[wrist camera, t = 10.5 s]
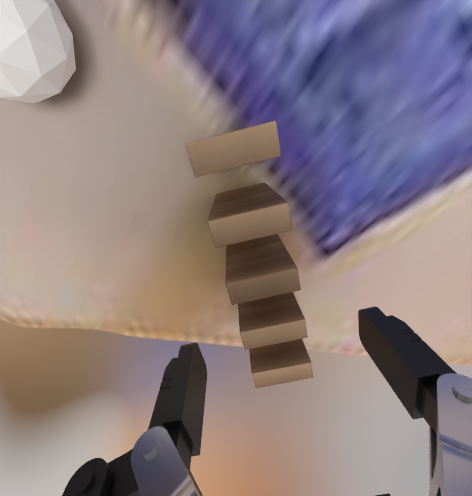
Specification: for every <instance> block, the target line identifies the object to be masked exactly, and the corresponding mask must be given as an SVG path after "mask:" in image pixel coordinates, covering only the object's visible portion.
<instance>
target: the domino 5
mask: <svg viewBox="0 0 472 496" xmlns="http://www.w3.org/2000/svg"><path fill="white" fill-rule="evenodd" d="M249 351H250V362H251V371H252V376H253V380H254V383H255V387H256V388H259V387H265V386H271V385H276V384H281V383H287V382H292V381H297V380H303V379H308V378H313V372H312V364H311V361H310V358H309V356H308V353H307V350H306V348H305V345H304V343H303V340H302V339H298V340H292V341H287V342H282V343H277V344H272V345H267V346H262V347H257V348H252V349H249Z"/></svg>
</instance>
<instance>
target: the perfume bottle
mask: <svg viewBox="0 0 472 496" xmlns="http://www.w3.org/2000/svg"><path fill="white" fill-rule="evenodd" d="M75 70H76V66H75V55H74V45H73V35H72V32H71V31H70V29H69V27H68V25H67V23H66V21H65V19H64V18H63V16H62V14H61V12H60V10H59V8H58V6H57V4H56V3H55V1H54V0H0V98H4V99H10V100H17V101H23V102H29V103H37V102H40V101H42V100H44V99H47V98H49V97H51V96H54V95H56V94H58V93H60V92H61V91H62V89H63V88H64V86H65V85H66V83H67V82H68V81H69V79H70V78H71V76H72V75H73V73H74V72H75Z"/></svg>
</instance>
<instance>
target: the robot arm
mask: <svg viewBox="0 0 472 496" xmlns="http://www.w3.org/2000/svg"><path fill="white" fill-rule="evenodd" d="M358 315H359V336H360V340H361V342H362V345H363V346H364V348H365V350H366V351H367V352H368V354H369V355H370V357H371V358H372V360H373V361H374V363H375V364H376V366H377V367H378V369H379V370H380V372H381V373H382V374H383V376H384V377H385V379H386V380H387V382H388V383H389V385H390V386H391V388H392V389H393V391H394V392H395V393H396V395H397V396H398V398H399V399H400V401H401V402H402V404H403V405H404V407H405V408H406V410H407V411H408V413H409V414H410V416H411V417H412V418H413V419H418V418H424V419H425V420H426V422H427V423H428V424H429V426H430V428H429V460H430V461H429V462H430V463H429V464H430V489H429V496H472V379H471V378H469V377H466V376H464V375H460V374H457V373H456V372H455V371H453V370H452V369H451V368H450V367H449V366H448V365H447V364H446V363H445V362H444V361H443V360H442V359H441V358H440V357H439V356H438V355H437V354H436V353H435V352H434V351H433V350H432V349H431V348H430V347H429V346H428V345H427V344H426V343H425V342H424V341H422V339H421V338H420V337H419V336H418V335H417V334H416V333H414V331H413V330H412V329H411V328H410V327H409V326H408V325H407V324H406V323H405V322H403V321H401V320H400V319H398V318H396V317H394V316H392V315H391V316H386V315H385V314H384V313H383V312H382V311H381V310H380V309H379V308H378V307H371V308H366V309H361V310H359V312H358ZM162 380H163V381H162V383H161V386H160V391H159V393H158V397H157V400H156V404H155V407H154V411H153V414H152V418H151V421H150V425H149V428H148V430H147V431H146V432H144V433H143V435H141V437H140V438H139V439H138V440H137V442H136V443H135V446H134V447H133V449H132V450H130V451H129V452H127V453H125V454H123V455H122V456H120V457H118V458H116V459H115V460H113V461H111V462H109V463H106V462H105V460H103V459H101V458H94V459H92V460H90V461H88V462H86V463H85V464H84V465H82V466H81V467H80V468H79V469H78V470H77V471H76V472H75V474H74V475H73V476H72V478H71V479H70V481H69V482H68V484H67V486H66V488H65V491H64V493H63V495H62V496H203V495H202V493H201V491H200V489H199V487H198V485H197V483H196V481H195V479H194V477H193V475H192V473H191V471H190V463H191V456H197V455H200V448H201V437H202V426H203V415H204V404H205V392H206V381H207V369H206V364H205V361H204V359H203V356H202V354H201V351H200V349H199V346H198V344H197V343H191V344H186V345H182V346H181V347H180V350H179V355H178V358H173V359H172V360H171V361H170V363H169V364H168V366H167V367H166V369H165V372H164V376H163V379H162ZM377 496H390V494H383V495H377Z"/></svg>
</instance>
